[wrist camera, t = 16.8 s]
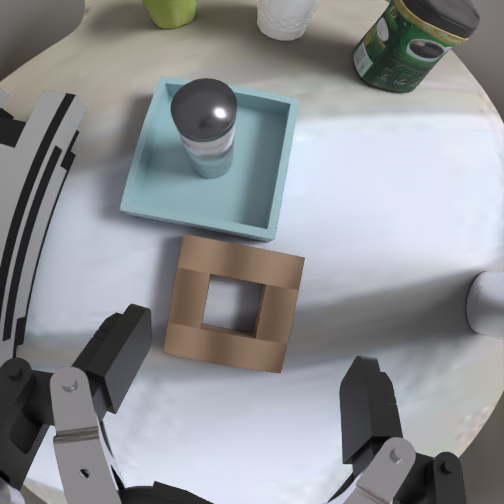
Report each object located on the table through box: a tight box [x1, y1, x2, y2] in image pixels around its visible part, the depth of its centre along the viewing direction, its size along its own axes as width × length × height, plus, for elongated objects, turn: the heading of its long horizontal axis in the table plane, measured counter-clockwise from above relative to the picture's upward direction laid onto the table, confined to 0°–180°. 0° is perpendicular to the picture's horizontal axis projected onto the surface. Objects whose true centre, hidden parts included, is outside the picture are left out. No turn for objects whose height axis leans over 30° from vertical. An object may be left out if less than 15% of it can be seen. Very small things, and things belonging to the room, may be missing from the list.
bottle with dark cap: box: [170, 78, 237, 179], centre depth 25 cm, size 5×5×12 cm
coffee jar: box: [353, 0, 480, 93], centre depth 25 cm, size 10×8×19 cm
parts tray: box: [120, 77, 299, 242], centre depth 30 cm, size 15×15×4 cm
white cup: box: [257, 0, 320, 41], centre depth 28 cm, size 8×8×10 cm
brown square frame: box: [163, 234, 305, 373], centre depth 31 cm, size 12×12×2 cm
